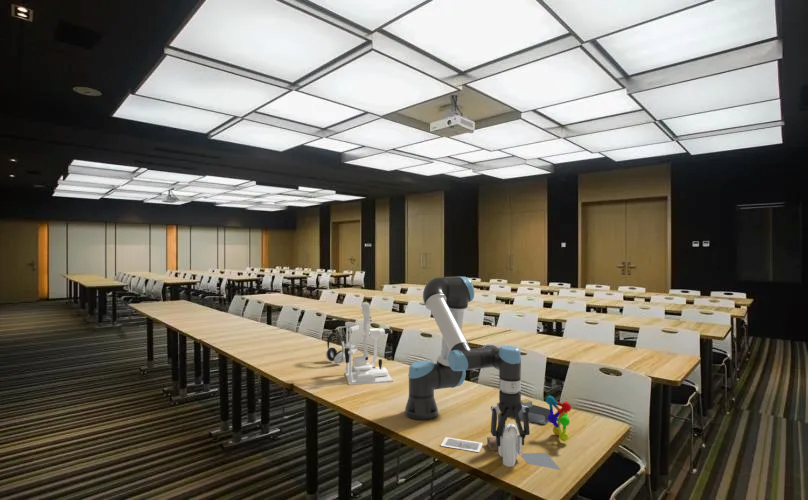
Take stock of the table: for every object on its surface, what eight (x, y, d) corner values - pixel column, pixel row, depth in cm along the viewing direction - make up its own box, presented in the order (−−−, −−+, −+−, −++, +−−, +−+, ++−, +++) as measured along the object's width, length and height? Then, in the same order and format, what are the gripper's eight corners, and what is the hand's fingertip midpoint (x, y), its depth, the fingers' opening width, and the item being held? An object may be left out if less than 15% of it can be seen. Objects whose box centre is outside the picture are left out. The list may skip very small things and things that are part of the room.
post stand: (490, 451, 155) (490, 416, 155) (487, 444, 160) (487, 411, 160) (521, 449, 155) (521, 415, 156) (517, 443, 160) (517, 410, 160)
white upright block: (506, 453, 153) (506, 419, 153) (518, 455, 151) (517, 421, 151) (501, 466, 144) (501, 431, 144) (514, 468, 142) (513, 433, 142)
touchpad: (445, 439, 165) (445, 434, 165) (483, 445, 160) (483, 440, 160) (440, 448, 158) (440, 442, 158) (479, 455, 153) (479, 449, 153)
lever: (500, 416, 155) (500, 406, 155) (494, 412, 158) (494, 403, 158) (533, 409, 162) (533, 400, 162) (527, 406, 165) (527, 397, 165)
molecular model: (541, 429, 172) (541, 394, 171) (562, 427, 173) (563, 393, 172) (557, 449, 157) (557, 411, 156) (581, 447, 158) (581, 410, 157)
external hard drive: (544, 426, 177) (544, 417, 177) (504, 416, 188) (504, 407, 188) (553, 416, 187) (553, 408, 187) (514, 407, 198) (514, 399, 198)
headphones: (323, 360, 284) (322, 331, 284) (333, 358, 290) (333, 330, 290) (338, 366, 270) (338, 335, 270) (349, 363, 276) (349, 334, 276)
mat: (534, 475, 138) (534, 474, 138) (520, 454, 152) (520, 453, 152) (563, 473, 139) (563, 472, 139) (546, 453, 153) (546, 452, 153)
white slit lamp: (394, 381, 238) (393, 304, 238) (348, 385, 231) (347, 305, 232) (386, 369, 261) (385, 299, 261) (344, 373, 255) (343, 300, 255)
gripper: (486, 394, 143) (486, 460, 143) (540, 393, 145) (540, 458, 145) (481, 387, 151) (481, 450, 151) (531, 386, 152) (532, 448, 152)
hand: (510, 454), depth 148 cm, fingers open, 6 cm apart
